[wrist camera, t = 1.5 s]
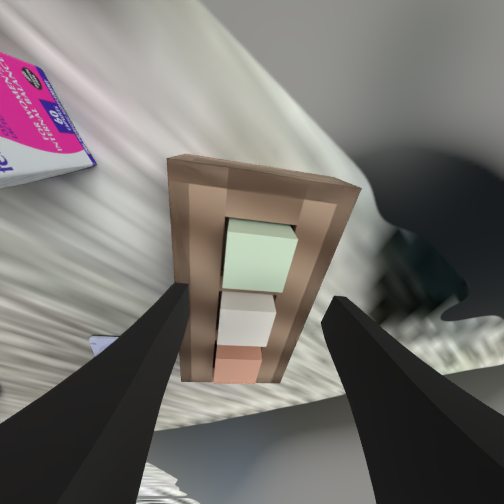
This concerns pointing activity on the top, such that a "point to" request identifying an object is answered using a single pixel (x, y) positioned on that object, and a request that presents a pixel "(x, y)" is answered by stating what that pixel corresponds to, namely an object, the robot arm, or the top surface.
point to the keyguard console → (215, 238)
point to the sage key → (258, 255)
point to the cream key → (245, 319)
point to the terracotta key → (237, 364)
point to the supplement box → (34, 128)
